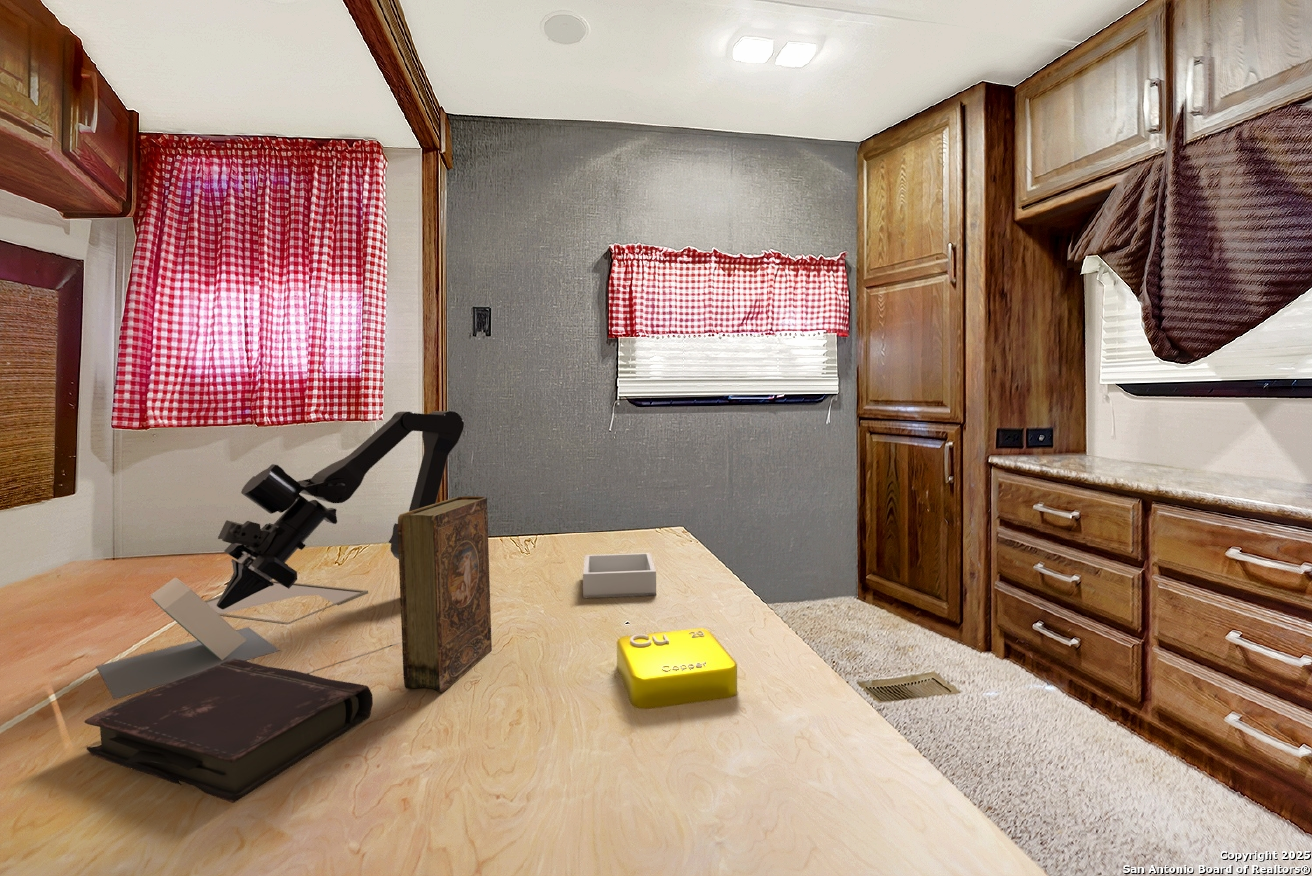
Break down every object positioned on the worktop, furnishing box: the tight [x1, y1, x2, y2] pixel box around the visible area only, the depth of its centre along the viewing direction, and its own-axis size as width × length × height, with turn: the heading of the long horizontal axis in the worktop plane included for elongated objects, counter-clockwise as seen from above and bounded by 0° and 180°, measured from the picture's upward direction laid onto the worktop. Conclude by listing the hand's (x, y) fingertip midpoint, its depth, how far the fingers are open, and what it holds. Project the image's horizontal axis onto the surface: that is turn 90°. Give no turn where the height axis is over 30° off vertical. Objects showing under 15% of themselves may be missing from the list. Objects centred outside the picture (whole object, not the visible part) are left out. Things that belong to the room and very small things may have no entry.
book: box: [397, 495, 493, 693], centre depth 88 cm, size 16×6×25 cm, turn 168°
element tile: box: [616, 627, 738, 710], centre depth 85 cm, size 15×15×5 cm
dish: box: [582, 552, 657, 599], centre depth 128 cm, size 15×15×5 cm
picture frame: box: [204, 579, 369, 625], centre depth 120 cm, size 19×1×28 cm
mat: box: [96, 626, 281, 700], centre depth 93 cm, size 20×16×1 cm
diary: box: [83, 658, 374, 803], centre depth 72 cm, size 19×25×5 cm
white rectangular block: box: [149, 576, 246, 660], centre depth 94 cm, size 4×10×12 cm
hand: (219, 607), depth 96 cm, fingers closed
